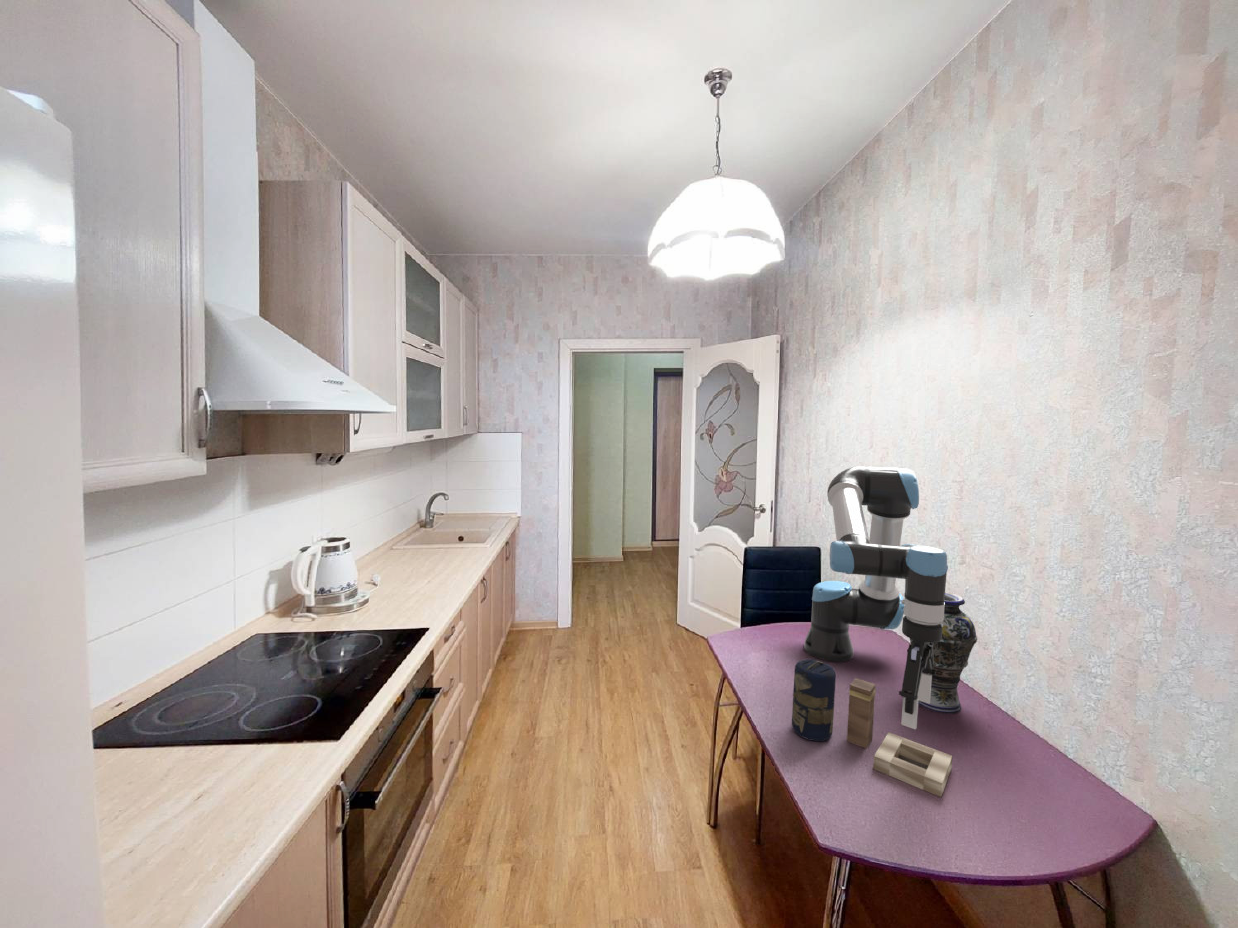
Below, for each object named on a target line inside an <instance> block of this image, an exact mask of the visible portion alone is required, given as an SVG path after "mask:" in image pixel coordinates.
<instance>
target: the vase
mask: <svg viewBox="0 0 1238 928" xmlns="http://www.w3.org/2000/svg"><path fill="white" fill-rule="evenodd" d="M944 603H945V606H944V620H943V622H941V623H942V625H943V630H942V639H941V641H939V642H936V643H933V649H934V665H935V666H934V668H932V669H934V670H936V675H934V674H930V675H932V681H931V695H930V704H928V703H925V702H922V701H919V700H918V706H920V707H922V708H923V709H926V710H929V711H931V712H935V713H939V714H940V713H941V714H959V713H960V712H961V711H962V705H961V700H960V697H959V693H958V686H959V683H960V681H961V676H962V672H963V670H964V669H965V668H966V667H967V666H968V665H969V662H968V661H969V658H970V656H971V653H972V651H973V648H974V646H975V645H976V644H977V641H978V636H977V632H976V627H975V624H974V623H973V621H972V619H971V618H970V617H969V616H968V615H967V614H966V613H965V612H963V610H961V609H960V606H963V605H965V604H966V601H965V599H964V598H963V597H962V596H960V595H958V594H956V593H953V592H952V593H951V592H948V591H945V600H944ZM909 641H910V643H909V644H911V643H912V639H910V638H909Z"/></svg>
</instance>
